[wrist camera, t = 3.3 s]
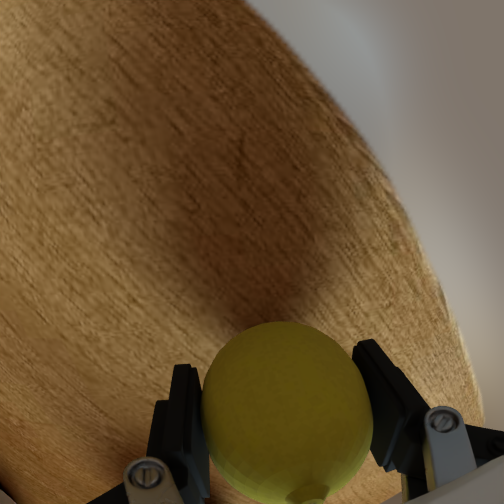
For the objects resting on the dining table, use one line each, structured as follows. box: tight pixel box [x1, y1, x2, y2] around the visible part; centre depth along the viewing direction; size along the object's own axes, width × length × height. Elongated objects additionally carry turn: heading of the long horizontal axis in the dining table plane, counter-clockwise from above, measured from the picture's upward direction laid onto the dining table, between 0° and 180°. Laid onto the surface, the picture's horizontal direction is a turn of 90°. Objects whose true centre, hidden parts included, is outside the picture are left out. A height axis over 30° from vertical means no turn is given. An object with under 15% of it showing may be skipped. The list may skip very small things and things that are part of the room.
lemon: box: [200, 321, 373, 504], centre depth 10 cm, size 6×6×8 cm
